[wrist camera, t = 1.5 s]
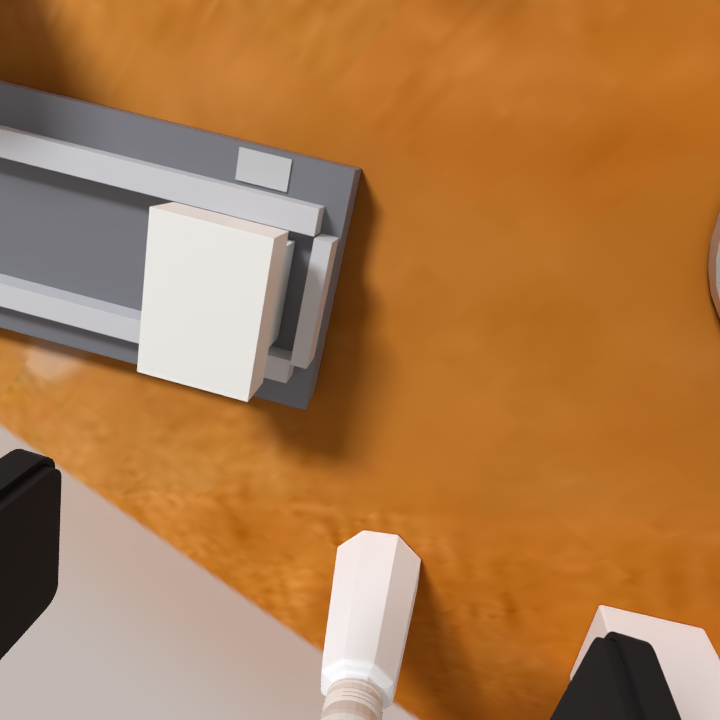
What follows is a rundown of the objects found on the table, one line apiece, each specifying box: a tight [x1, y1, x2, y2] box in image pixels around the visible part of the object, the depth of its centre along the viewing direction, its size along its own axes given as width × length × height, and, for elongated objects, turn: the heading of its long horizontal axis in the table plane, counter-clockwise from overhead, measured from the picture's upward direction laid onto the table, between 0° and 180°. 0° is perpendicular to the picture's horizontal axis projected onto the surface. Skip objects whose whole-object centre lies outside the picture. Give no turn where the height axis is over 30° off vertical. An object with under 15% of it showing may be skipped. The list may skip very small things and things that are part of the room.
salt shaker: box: [320, 530, 421, 720], centre depth 29 cm, size 5×5×11 cm
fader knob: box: [137, 202, 295, 402], centre depth 24 cm, size 5×7×5 cm
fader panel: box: [0, 80, 362, 410], centre depth 28 cm, size 26×12×4 cm, turn 77°
